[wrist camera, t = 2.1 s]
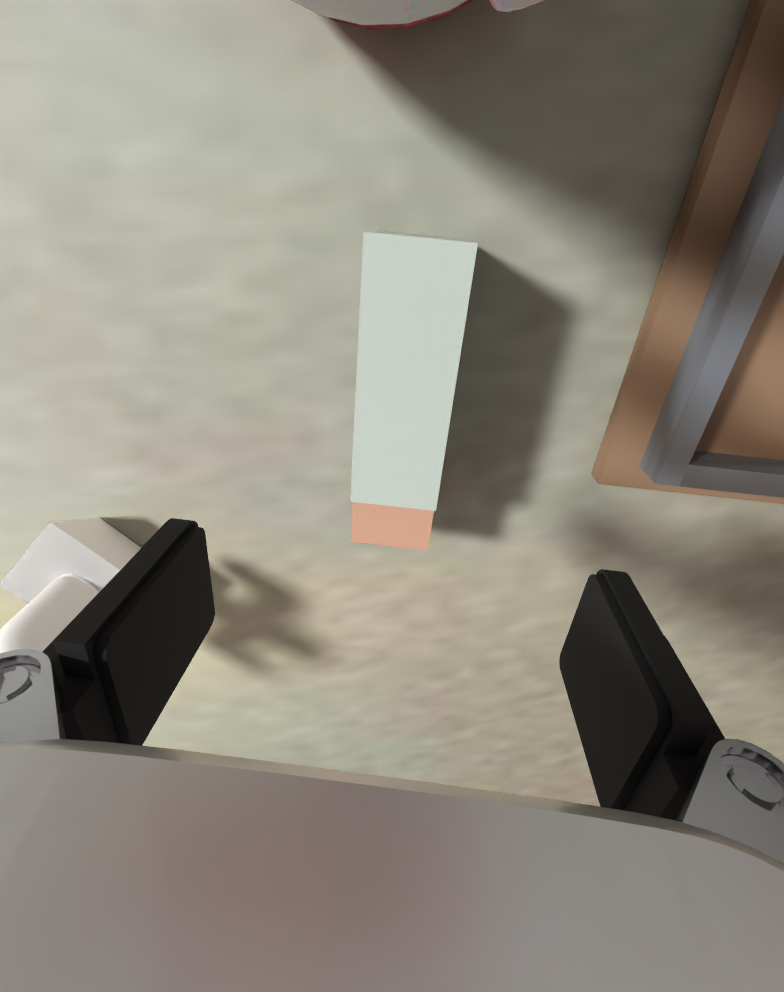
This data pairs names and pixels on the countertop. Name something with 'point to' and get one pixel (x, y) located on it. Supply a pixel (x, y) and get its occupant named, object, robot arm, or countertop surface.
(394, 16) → the citrus juicer
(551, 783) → the countertop surface
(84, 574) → the figurine
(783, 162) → the jig
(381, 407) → the white bar
